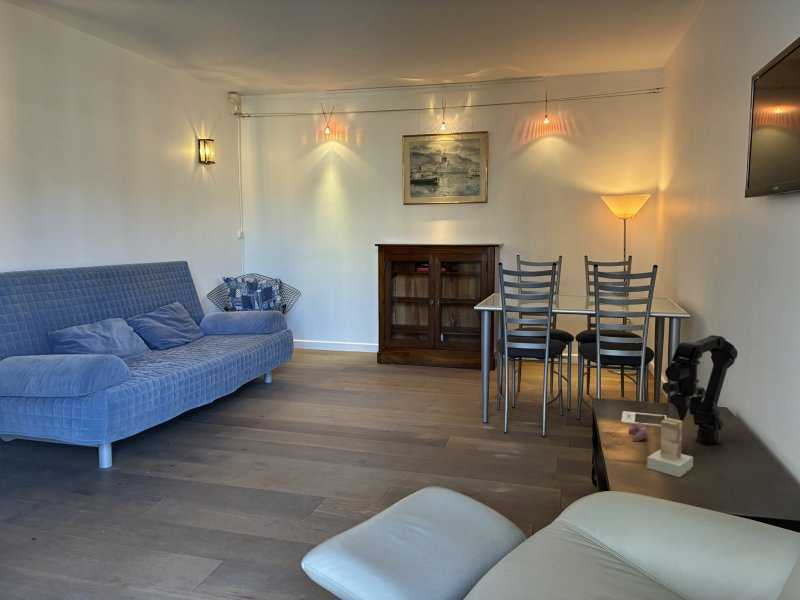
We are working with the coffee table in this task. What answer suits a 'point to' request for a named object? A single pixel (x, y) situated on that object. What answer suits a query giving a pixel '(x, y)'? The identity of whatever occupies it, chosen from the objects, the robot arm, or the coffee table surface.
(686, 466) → the white flat block
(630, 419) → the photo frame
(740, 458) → the coffee table surface
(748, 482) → the coffee table surface
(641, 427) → the pink lumpy piece
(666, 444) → the birch block
